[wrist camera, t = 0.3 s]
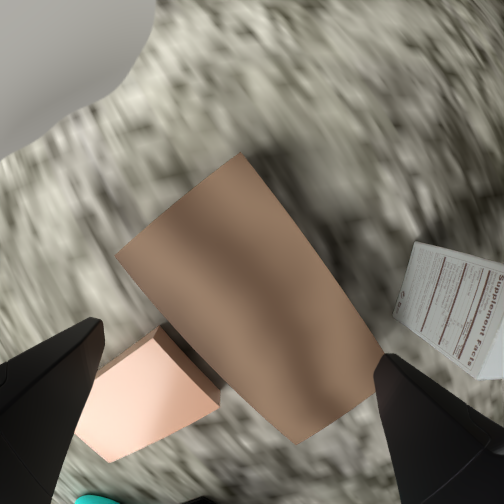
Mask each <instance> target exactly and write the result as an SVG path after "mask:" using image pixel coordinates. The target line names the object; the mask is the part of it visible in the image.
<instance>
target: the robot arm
mask: <svg viewBox="0 0 504 504" xmlns="http://www.w3.org/2000/svg"><path fill="white" fill-rule="evenodd" d="M104 346H105V336H104V327H103V322H102V320H101V319H97V318H93V317H89V318H87V319H85V320H83V321H81V322H79V323H77V324H75V325H73V326H72V327H70V328H68V329H66V330H64V331H62V332H60V333H58V334H56V335H55V336H53V337H51V338H49V339H47V340H45V341H43V342H41V343H40V344H38V345H36V346H34V347H32V348H30V349H28V350H26V351H25V352H23V353H21V354H19V355H17V356H15V357H13V358H12V359H10V360H8V362H4V363H2V364H0V504H51V500H52V498H51V497H52V496H53V493H54V490H55V487H56V484H57V480H58V477H59V474H60V471H61V468H62V465H63V462H64V460H65V457H66V454H67V451H68V448H69V445H70V443H71V440H72V437H73V435H74V432H75V429H76V427H77V424H78V422H79V419H80V416H81V414H82V411H83V409H84V407H85V404H86V402H87V399H88V397H89V394H90V392H91V389H92V387H93V383H94V380H95V377H96V373H97V370H98V366H99V363H100V360H101V357H102V353H103V350H104ZM373 380H374V385H375V391H376V396H377V402H378V408H379V413H380V417H381V421H382V425H383V429H384V432H385V436H386V440H387V444H388V448H389V452H390V456H391V460H392V464H393V468H394V472H395V477H396V481H397V485H398V490H399V494H400V499H401V504H504V427H502V426H500V425H499V424H497V423H495V422H494V421H492V420H490V419H489V418H487V417H485V416H484V415H482V414H481V413H479V412H478V411H476V410H475V409H473V408H472V407H471V406H469V405H467V404H466V403H465V402H463V401H462V400H461V399H459V398H458V397H456V396H455V395H453V394H452V393H451V392H449V391H448V390H446V389H445V388H443V387H442V386H441V385H439V384H438V383H436V382H435V381H433V380H432V379H431V378H429V377H428V376H426V375H425V374H423V373H422V372H421V371H419V370H418V369H416V368H415V367H413V366H412V365H411V364H409V363H408V362H406V361H405V360H403V359H402V358H401V357H399V356H398V355H396V354H394V353H385V354H383V355H382V357H381V359H380V361H379V363H378V364H377V366H376V368H375V370H374V373H373ZM184 504H216V503H214V502H213V501H211V500H209V499H207V498H205V497H201V498H198V499H195V500H193V501H190V502H187V503H184Z"/></svg>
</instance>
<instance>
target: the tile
mask: <svg viewBox="0 0 504 504" xmlns="http://www.w3.org/2000/svg"><path fill="white" fill-rule="evenodd" d="M218 408H220V390H219V389H218V388H217V387H216V386H215V385H214V384H213V383H212V382H211V381H210V380H209V379H208V378H207V377H206V375H205V374H204V373H203V372H202V371H201V370H200V369H199V368H198V367H197V366H196V365H195V364H194V363H193V362H192V361H191V360H190V359H189V358H188V357H187V355H186V354H185V353H184V352H183V351H182V350H181V349H180V348H179V347H178V346H177V345H176V343H175V342H174V341H173V340H172V339H171V338H170V337H169V336H168V334H167V333H166V332H165V331H164V330H163V329H162V328H161V326H160V325H159V326H158V327H157V328H155V329H154V330H152V331H151V332H150V333H148V334H147V335H146V336H144V337H143V338H142V339H140V340H139V341H138V342H136V343H135V344H134V345H132V346H131V347H129V348H128V349H127V350H125V351H124V352H123V353H121V354H120V355H119V356H117V357H116V358H115V359H113V360H112V361H110V362H109V363H108V364H106V365H105V366H104V367H102V368H101V369H100V370H98V371H97V373H96V377H95V380H94V383H93V387H92V389H91V392H90V394H89V397H88V399H87V402H86V404H85V407H84V409H83V411H82V414H81V416H80V419H79V422H78V424H77V427H76V429H75V432H74V433H75V434H76V435H77V436H78V437H79V438H80V439H82V440H83V441H84V442H85V443H86V444H87V445H88V446H89V447H91V448H92V449H93V450H94V451H95V452H96V453H98V454H99V455H100V456H101V457H102V458H104V459H105V460H106V461H107V462H109V463H111V462H113V461H115V460H118V459H120V458H122V457H124V456H127V455H129V454H131V453H133V452H135V451H138V450H140V449H142V448H144V447H146V446H148V445H150V444H152V443H154V442H156V441H158V440H160V439H162V438H164V437H166V436H168V435H170V434H172V433H174V432H176V431H178V430H180V429H182V428H184V427H186V426H188V425H189V424H191V423H193V422H195V421H197V420H199V419H200V418H202V417H204V416H206V415H208V414H209V413H211V412H213V411H215V410H216V409H218Z"/></svg>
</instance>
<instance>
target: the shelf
mask: <svg viewBox="0 0 504 504" xmlns="http://www.w3.org/2000/svg"><path fill="white" fill-rule="evenodd" d="M115 257H116V259H117V260H118V261H119V262H120V264H121V265H122V266H123V268H124V269H125V270H126V271H127V273H128V274H129V275H130V276H131V278H132V279H133V280H134V281H135V282H136V284H137V285H138V286H139V287H140V289H141V290H142V291H143V292H144V293H145V295H146V296H147V297H148V298H149V299H150V301H151V302H152V303H153V304H154V305H155V306H156V308H157V309H158V310H159V311H160V312H161V313H162V314H163V316H164V317H165V318H166V319H167V320H168V321H169V322H170V324H171V325H172V326H173V327H174V328H175V329H176V330H177V331H178V332H179V334H180V335H181V336H182V337H183V338H184V339H185V340H186V341H187V342H188V343H189V344H190V345H191V347H192V348H193V349H194V350H195V351H196V352H197V353H198V354H199V355H200V356H201V357H202V358H203V359H204V360H205V361H206V362H207V363H208V364H209V365H210V366H211V367H212V368H213V369H214V370H215V371H216V372H217V373H218V374H219V375H220V376H221V377H222V378H223V379H224V380H225V381H226V382H227V383H228V384H229V385H230V386H231V387H232V388H233V389H234V390H235V391H236V392H237V393H238V394H239V395H240V396H241V397H242V398H243V399H244V400H245V401H246V402H248V403H249V404H250V405H251V406H252V407H253V408H254V409H255V410H256V411H257V412H258V413H259V414H261V415H262V416H263V417H264V418H265V419H266V420H267V421H268V422H269V423H271V424H272V425H273V426H274V427H275V428H276V429H277V430H279V431H280V432H281V433H282V434H283V435H284V436H286V437H287V438H288V439H289V440H290V441H292V442H293V443H294V444H295V445H297V444H299V443H301V442H302V441H304V440H306V439H307V438H309V437H311V436H312V435H314V434H315V433H317V432H319V431H320V430H322V429H323V428H325V427H326V426H328V425H329V424H331V423H333V422H334V421H336V420H337V419H338V418H340V417H341V416H343V415H344V414H346V413H347V412H349V411H350V410H351V409H353V408H354V407H356V406H357V405H358V404H360V403H361V402H363V401H364V400H365V399H367V398H368V397H369V396H371V395H372V394H373V393H375V392H376V391H375V385H374V380H373V373H374V370H375V368H376V366H377V364H378V363H379V361H380V359H381V357H382V355H383V354H385V353H384V352H383V350H382V348H381V347H380V345H379V344H378V342H377V341H376V339H375V338H374V336H373V335H372V333H371V332H370V330H369V328H368V327H367V325H366V324H365V322H364V321H363V319H362V318H361V316H360V315H359V313H358V312H357V310H356V309H355V307H354V306H353V304H352V303H351V302H350V300H349V299H348V297H347V296H346V294H345V293H344V291H343V290H342V288H341V287H340V285H339V284H338V283H337V281H336V280H335V278H334V277H333V275H332V274H331V273H330V271H329V270H328V268H327V267H326V265H325V264H324V263H323V261H322V260H321V258H320V257H319V256H318V254H317V253H316V251H315V250H314V249H313V247H312V246H311V244H310V243H309V242H308V240H307V239H306V237H305V236H304V235H303V233H302V232H301V231H300V229H299V228H298V226H297V225H296V224H295V222H294V221H293V220H292V218H291V217H290V216H289V214H288V213H287V212H286V210H285V209H284V208H283V206H282V205H281V204H280V202H279V201H278V200H277V198H276V197H275V196H274V194H273V193H272V192H271V190H270V189H269V188H268V186H267V185H266V184H265V182H264V181H263V180H262V179H261V177H260V176H259V175H258V173H257V172H256V171H255V170H254V168H253V167H252V166H251V164H250V163H249V162H248V161H247V159H246V158H245V157H244V156H243V154H242V153H241V152H240V153H239V154H237V155H236V156H234V157H233V158H232V159H230V160H229V161H228V162H226V163H225V164H224V165H222V166H221V167H220V168H219V169H217V170H216V171H215V172H213V173H212V174H211V175H209V176H208V177H207V178H206V179H204V180H203V181H202V182H200V183H199V184H198V185H197V186H195V187H194V188H193V189H192V190H190V191H189V192H188V193H187V194H185V195H184V196H183V197H182V198H180V199H179V200H178V201H177V202H176V203H174V204H173V205H172V206H171V207H170V208H168V209H167V210H166V211H165V212H164V213H162V214H161V215H160V216H159V217H158V218H156V219H155V220H154V221H153V222H152V223H151V224H149V225H148V226H147V227H146V228H145V229H144V230H143V231H141V232H140V233H139V234H138V235H137V236H136V237H135V238H133V239H132V240H131V241H130V242H129V243H128V244H127V245H126V246H124V247H123V248H122V249H121V250H120V251H119V252H118V253H117V254H116V255H115Z"/></svg>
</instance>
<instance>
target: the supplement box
mask: <svg viewBox="0 0 504 504" xmlns="http://www.w3.org/2000/svg"><path fill="white" fill-rule="evenodd" d="M393 318H395V319H396V320H398V321H399V322H400V323H402V324H403V325H405V326H406V327H407V328H409V329H410V330H412V331H413V332H414V333H415V334H417V335H418V336H419V337H421V338H422V339H423V340H425V341H426V342H428V343H429V344H430V345H431V346H433V347H434V348H435V349H437V350H438V351H439V352H441V353H442V354H443V355H444V356H446V357H447V358H448V359H450V360H451V361H452V362H454V363H455V364H456V365H457V366H459V367H460V368H461V369H463V370H464V371H465V372H467V373H468V374H469V375H471V376H472V377H473V378H475V379H476V380H479V381H481V380H494V379H504V264H503V263H499V262H496V261H492V260H488V259H485V258H481V257H477V256H474V255H470V254H467V253H463V252H459V251H455V250H451V249H447V248H443V247H439V246H434V245H430V244H426V243H421V242H417V241H415V242H414V245H413V249H412V252H411V256H410V260H409V263H408V267H407V270H406V274H405V277H404V280H403V284H402V287H401V290H400V293H399V296H398V299H397V303H396V306H395V309H394V312H393Z"/></svg>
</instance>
